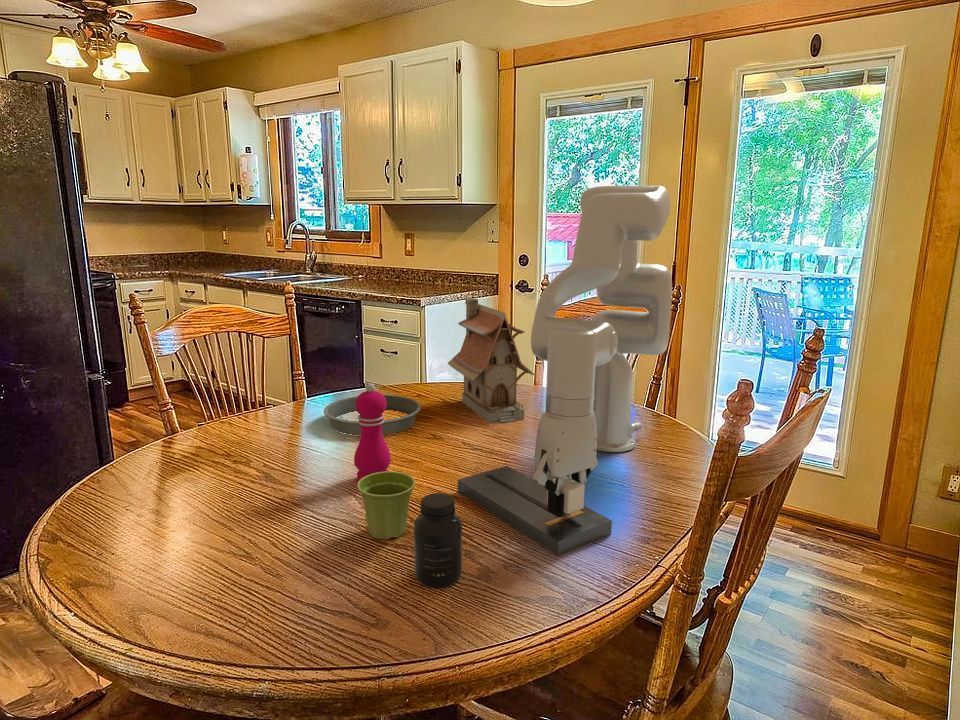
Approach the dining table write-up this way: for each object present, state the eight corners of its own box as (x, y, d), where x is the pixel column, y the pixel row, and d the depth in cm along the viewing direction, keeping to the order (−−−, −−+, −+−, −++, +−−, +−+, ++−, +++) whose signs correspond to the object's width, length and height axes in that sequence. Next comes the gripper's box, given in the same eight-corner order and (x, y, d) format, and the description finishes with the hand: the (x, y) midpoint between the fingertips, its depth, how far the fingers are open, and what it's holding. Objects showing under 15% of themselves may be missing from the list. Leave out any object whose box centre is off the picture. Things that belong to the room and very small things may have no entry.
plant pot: (425, 523, 102) (424, 475, 101) (400, 550, 94) (399, 499, 92) (376, 514, 105) (375, 468, 104) (348, 539, 97) (346, 489, 95)
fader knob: (546, 511, 100) (547, 480, 99) (561, 505, 102) (563, 475, 101) (567, 523, 96) (568, 490, 95) (582, 517, 98) (584, 485, 97)
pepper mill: (383, 489, 115) (381, 389, 111) (348, 486, 117) (344, 387, 112) (396, 474, 122) (394, 380, 118) (363, 471, 124) (359, 377, 119)
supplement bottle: (415, 563, 90) (414, 489, 87) (460, 562, 91) (460, 488, 88) (414, 590, 83) (413, 511, 81) (463, 588, 84) (463, 510, 81)
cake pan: (374, 404, 171) (373, 389, 170) (440, 420, 158) (440, 404, 157) (304, 426, 152) (303, 409, 151) (372, 447, 138) (372, 428, 137)
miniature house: (475, 426, 152) (476, 309, 146) (446, 401, 174) (446, 298, 168) (539, 419, 159) (543, 306, 152) (503, 395, 181) (505, 296, 174)
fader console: (457, 491, 115) (457, 479, 114) (506, 477, 121) (507, 465, 121) (557, 556, 92) (558, 540, 92) (611, 534, 99) (612, 519, 99)
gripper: (589, 391, 103) (584, 490, 107) (514, 407, 93) (511, 515, 97) (622, 401, 97) (616, 506, 101) (546, 419, 87) (542, 534, 91)
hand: (564, 509), depth 99 cm, fingers closed on fader knob, 3 cm apart
